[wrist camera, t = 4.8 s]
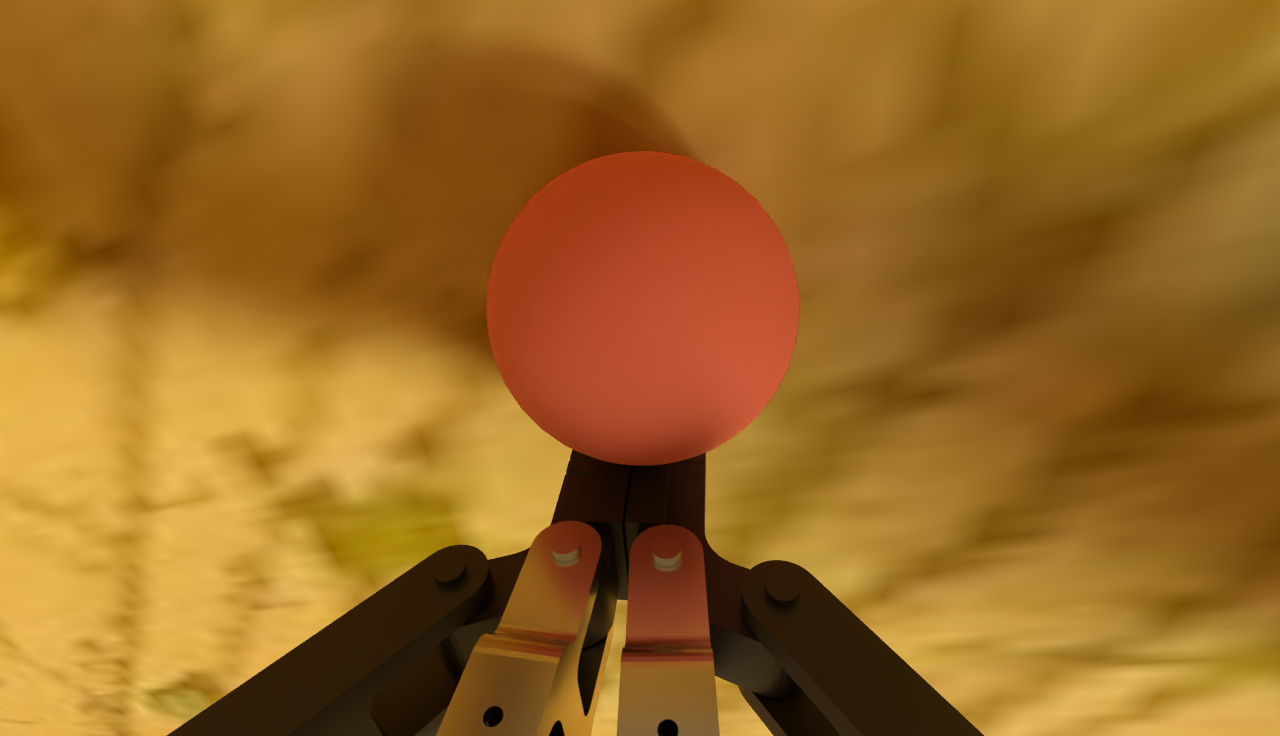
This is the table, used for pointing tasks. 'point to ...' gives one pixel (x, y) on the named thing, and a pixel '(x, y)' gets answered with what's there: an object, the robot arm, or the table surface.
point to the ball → (642, 308)
